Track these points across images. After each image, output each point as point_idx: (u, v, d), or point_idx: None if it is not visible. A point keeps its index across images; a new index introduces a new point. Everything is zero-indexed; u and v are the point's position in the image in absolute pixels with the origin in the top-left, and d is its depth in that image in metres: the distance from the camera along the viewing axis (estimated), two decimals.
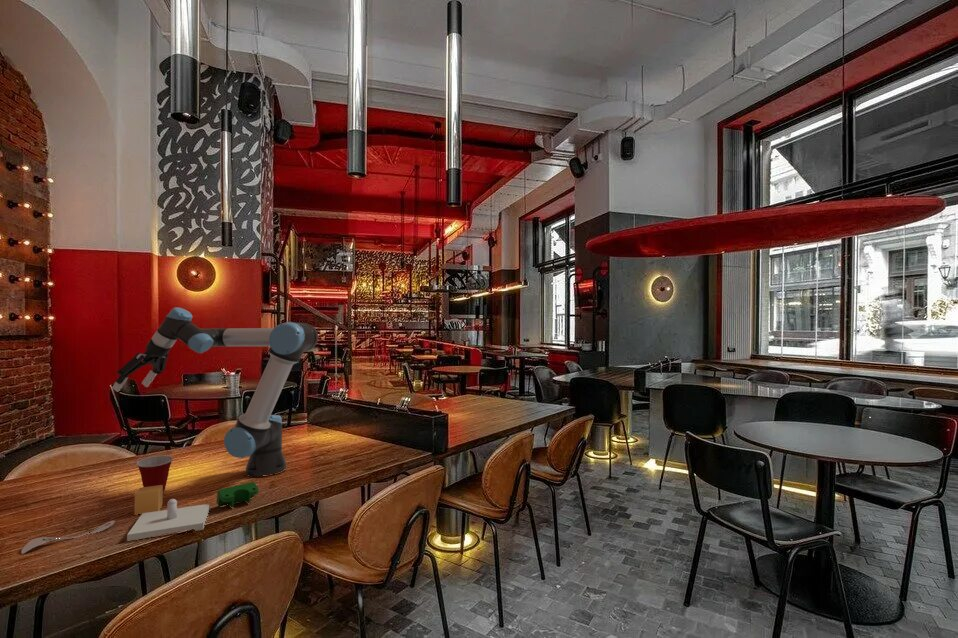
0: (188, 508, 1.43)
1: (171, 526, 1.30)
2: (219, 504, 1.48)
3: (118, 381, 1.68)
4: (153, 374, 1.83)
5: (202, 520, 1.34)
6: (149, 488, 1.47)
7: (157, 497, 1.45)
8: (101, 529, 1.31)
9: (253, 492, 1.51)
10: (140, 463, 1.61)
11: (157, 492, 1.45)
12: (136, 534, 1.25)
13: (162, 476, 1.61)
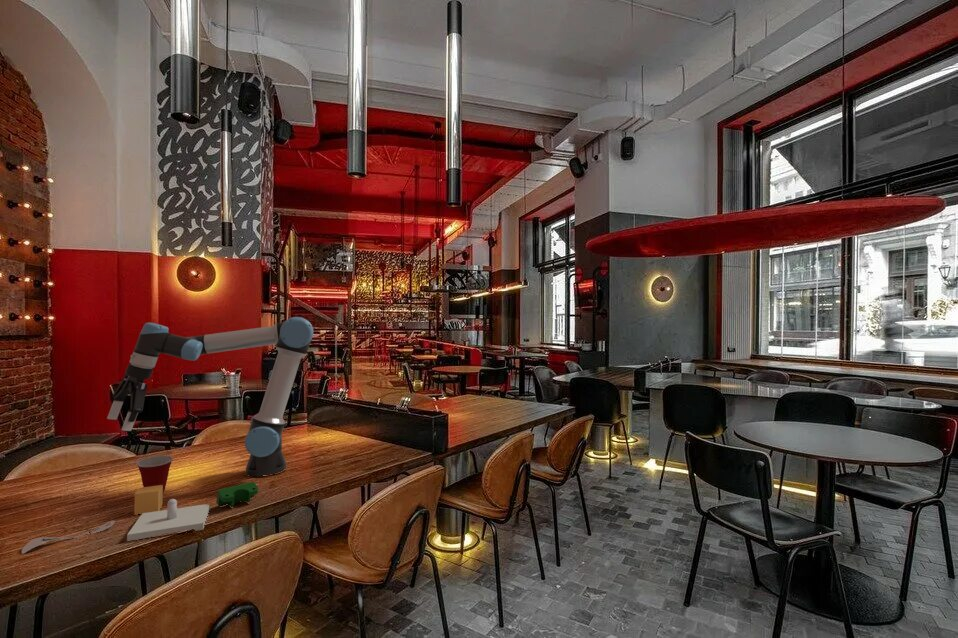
0: (188, 508, 1.43)
1: (171, 526, 1.30)
2: (219, 504, 1.48)
3: (133, 419, 1.54)
4: (120, 403, 1.63)
5: (202, 520, 1.34)
6: (149, 488, 1.47)
7: (157, 497, 1.45)
8: (101, 529, 1.31)
9: (253, 492, 1.51)
10: (140, 463, 1.61)
11: (157, 492, 1.45)
12: (136, 534, 1.25)
13: (162, 476, 1.61)
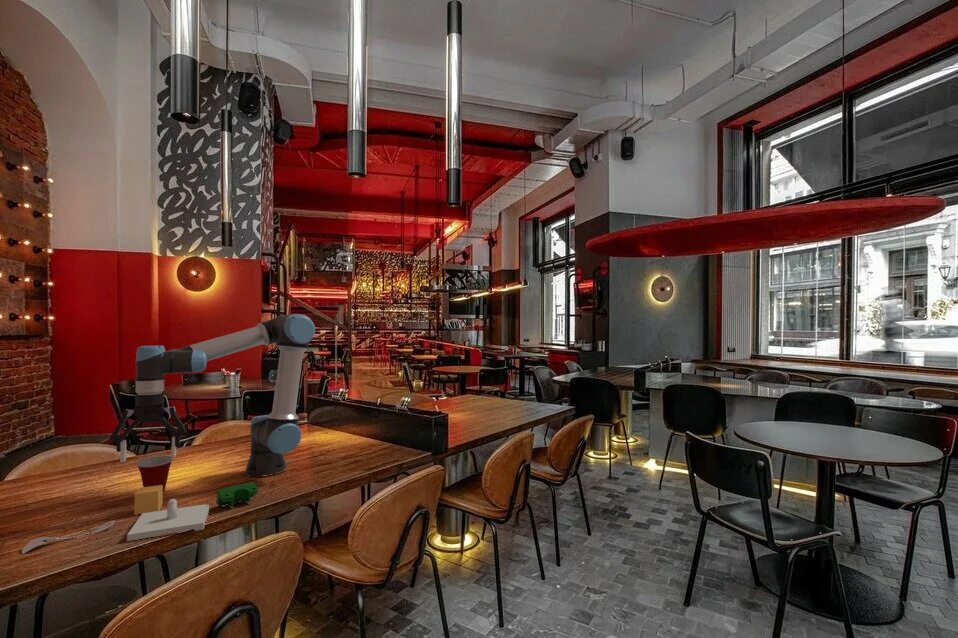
0: (188, 508, 1.43)
1: (171, 526, 1.30)
2: (219, 504, 1.48)
3: (179, 443, 1.50)
4: (125, 442, 1.45)
5: (202, 520, 1.34)
6: (149, 488, 1.47)
7: (157, 497, 1.45)
8: (101, 529, 1.31)
9: (253, 492, 1.51)
10: (140, 463, 1.61)
11: (157, 492, 1.45)
12: (136, 534, 1.25)
13: (162, 476, 1.61)
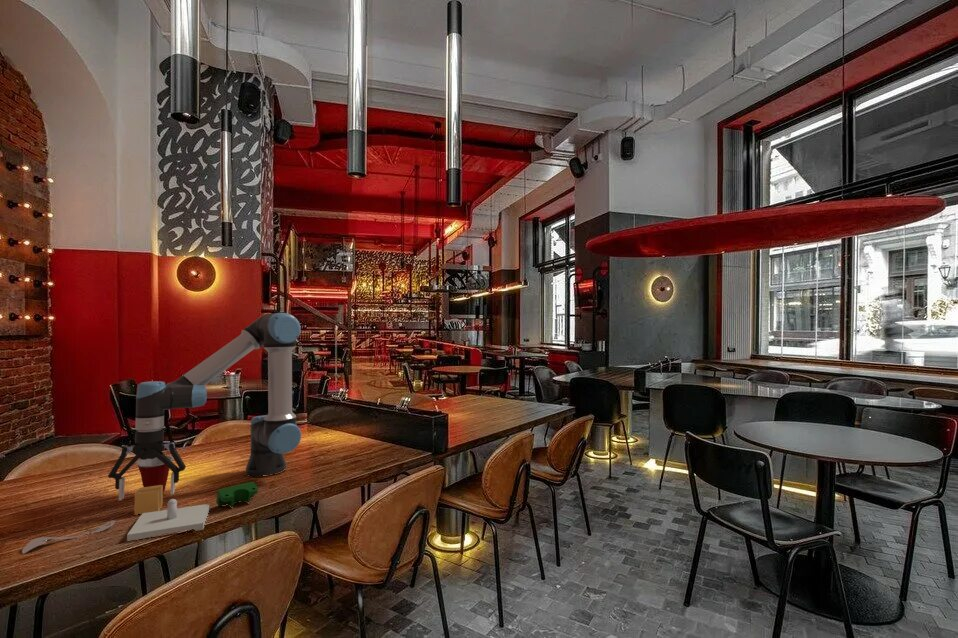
0: (188, 508, 1.43)
1: (171, 526, 1.30)
2: (219, 504, 1.48)
3: (178, 479, 1.50)
4: (124, 479, 1.44)
5: (202, 520, 1.34)
6: (149, 488, 1.47)
7: (157, 497, 1.45)
8: (102, 529, 1.31)
9: (253, 492, 1.51)
10: (140, 463, 1.61)
11: (157, 492, 1.45)
12: (136, 534, 1.25)
13: (162, 476, 1.61)
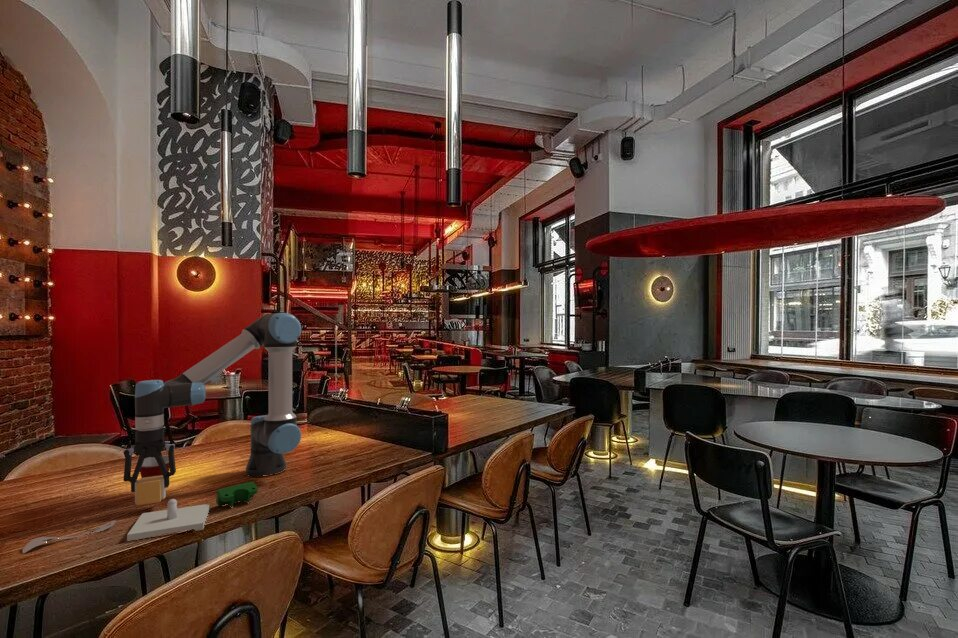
0: (188, 508, 1.43)
1: (171, 526, 1.30)
2: (219, 504, 1.48)
3: None
4: None
5: (202, 520, 1.34)
6: (151, 478, 1.48)
7: (158, 487, 1.45)
8: (102, 529, 1.31)
9: (252, 492, 1.51)
10: None
11: (158, 482, 1.45)
12: (136, 534, 1.25)
13: None
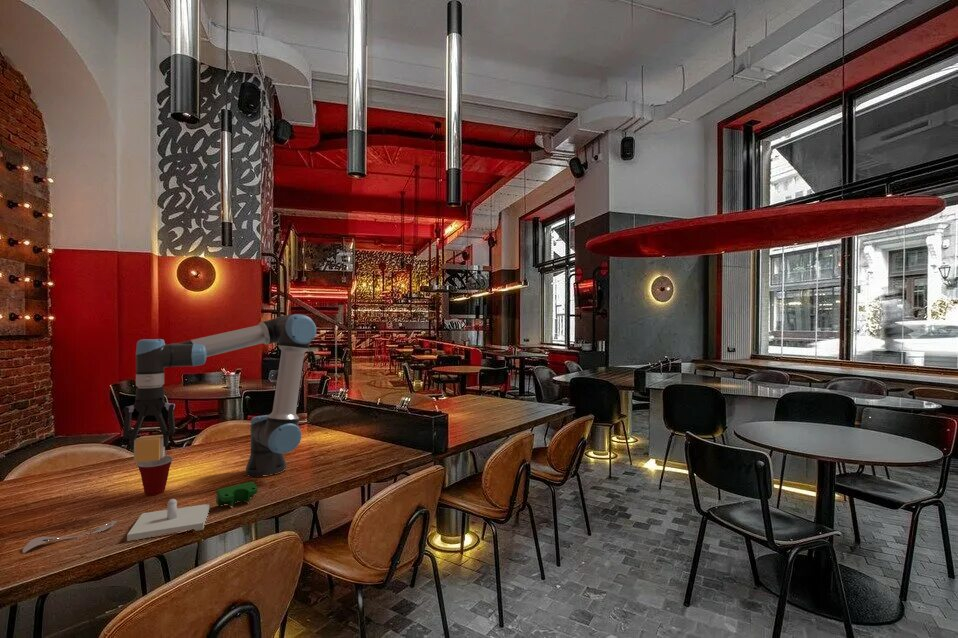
0: (188, 508, 1.43)
1: (171, 526, 1.30)
2: (218, 503, 1.48)
3: (168, 443, 1.49)
4: None
5: (202, 520, 1.34)
6: (150, 436, 1.48)
7: (158, 445, 1.45)
8: (102, 529, 1.31)
9: (252, 492, 1.51)
10: (140, 463, 1.61)
11: (158, 440, 1.45)
12: (136, 534, 1.25)
13: (162, 476, 1.61)
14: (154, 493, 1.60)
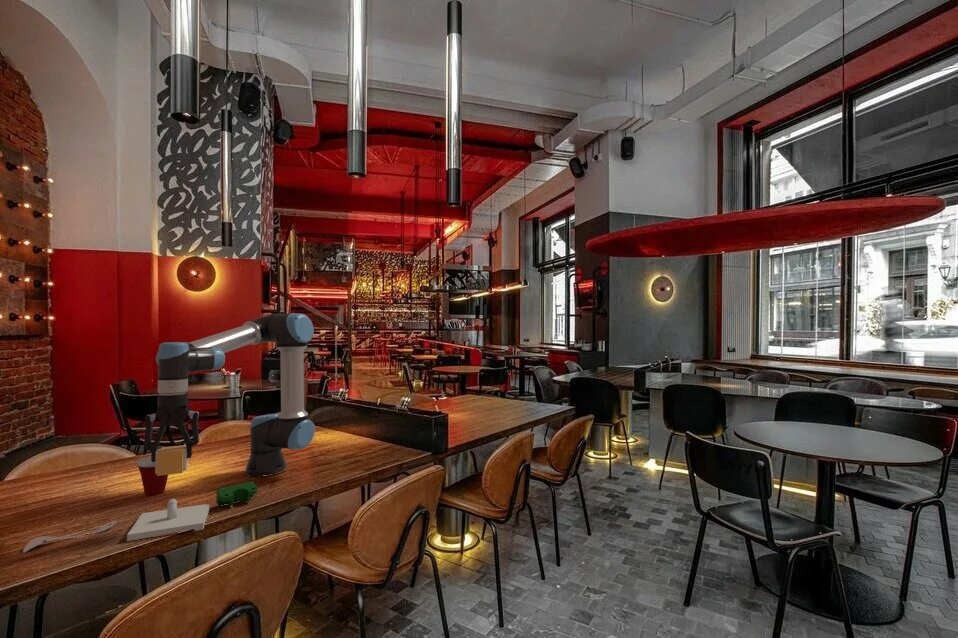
0: (188, 508, 1.43)
1: (171, 526, 1.30)
2: (218, 503, 1.48)
3: (191, 454, 1.38)
4: None
5: (202, 520, 1.34)
6: (172, 447, 1.37)
7: (181, 457, 1.34)
8: (102, 529, 1.31)
9: (252, 491, 1.52)
10: (140, 463, 1.61)
11: (181, 451, 1.34)
12: (136, 534, 1.25)
13: (162, 476, 1.61)
14: (154, 493, 1.60)
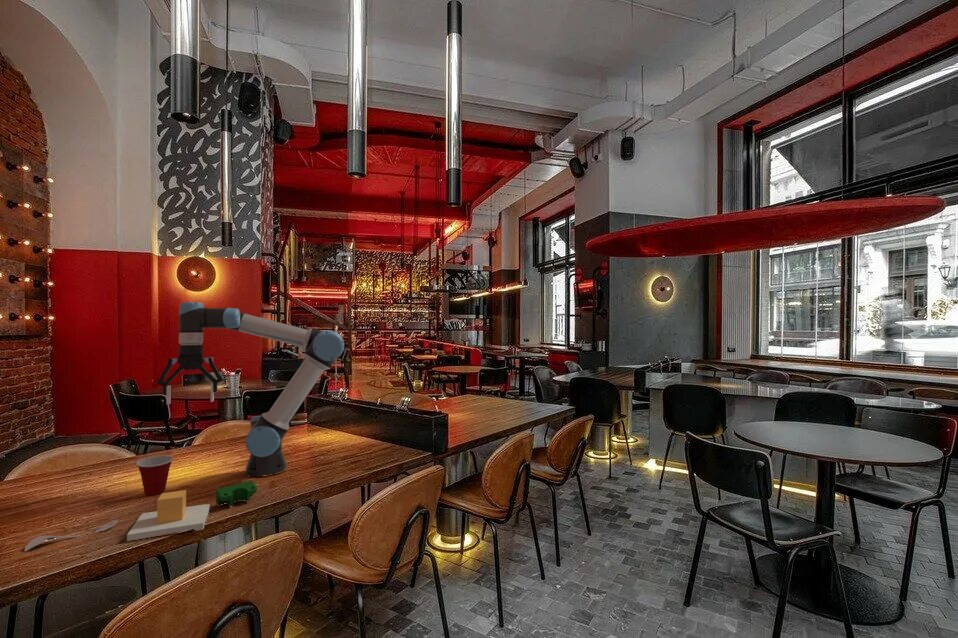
0: (188, 508, 1.43)
1: (171, 526, 1.30)
2: (218, 503, 1.49)
3: None
4: (170, 387, 1.63)
5: (202, 520, 1.34)
6: (172, 493, 1.37)
7: (181, 504, 1.34)
8: (103, 528, 1.32)
9: (252, 491, 1.52)
10: (140, 463, 1.61)
11: (181, 498, 1.34)
12: (136, 534, 1.25)
13: (162, 476, 1.61)
14: (154, 493, 1.60)
